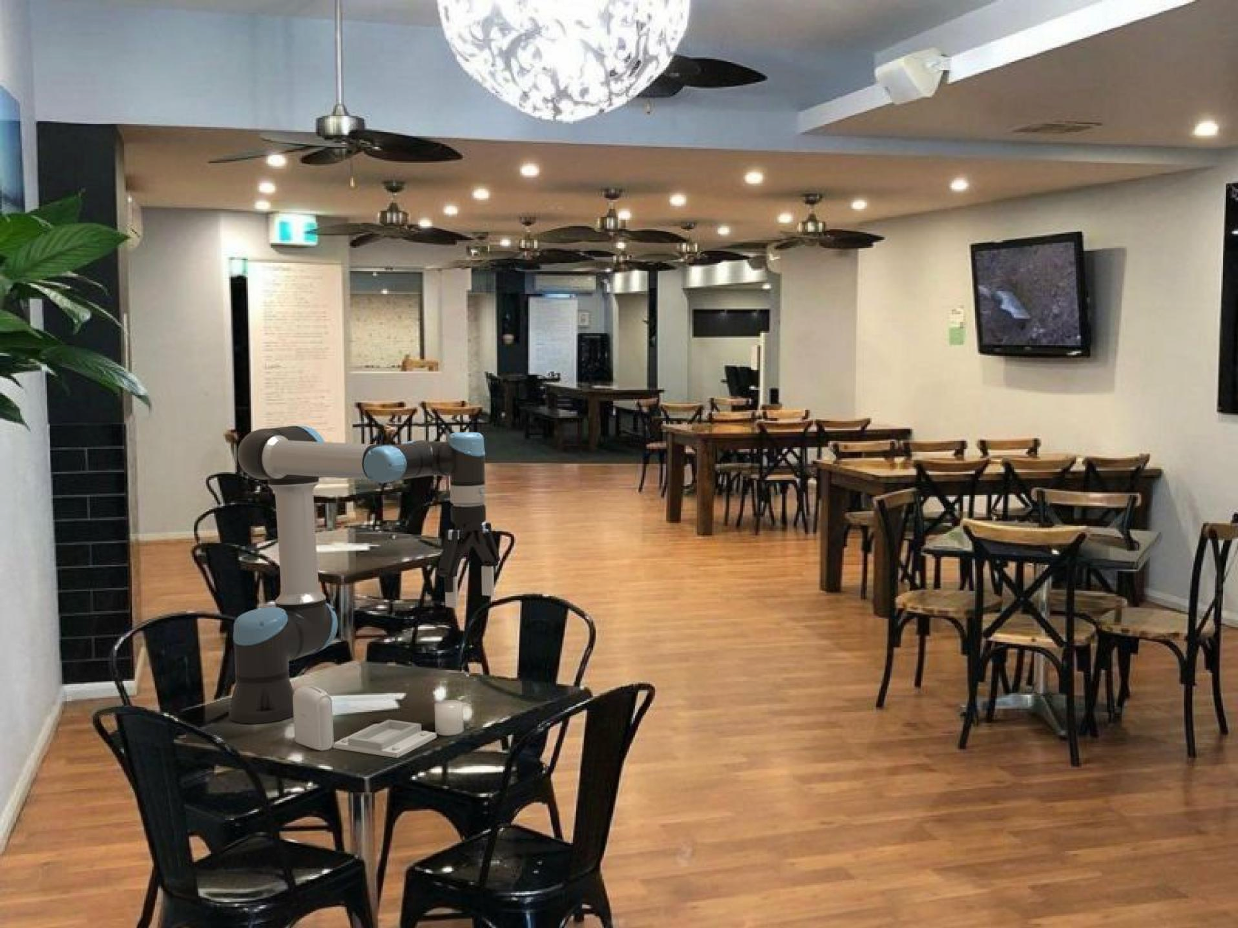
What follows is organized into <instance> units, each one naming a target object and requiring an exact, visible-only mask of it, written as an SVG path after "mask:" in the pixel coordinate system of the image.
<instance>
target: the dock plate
mask: <svg viewBox="0 0 1238 928" xmlns="http://www.w3.org/2000/svg"><path fill="white" fill-rule="evenodd" d="M436 738H437V733H436V732H432V731H428V730H422V724H421V723H418V722H411V721H410V722H409V721H402V720H396V719H395V720H394V719H386V720H384V721H382V722H380V723H373V724H371V725H370V726H367V727H365V728H363V729H361V730H358V731H357V732H354V733H352V734H351V735H347V736H346V737H342V738H341V739H340V740H337V741H335V742H334V743H333V746H332V748H333V749H337V750H345V751H349V752H350V751H351V752H355V753H356V752H357V753H363V754H369V755H375V756H382V757H390V758H399V757H402V756H404V755H406V754H408V753H409V752H412V751H413V750H416V749H418V748H419V747H421V746H424V745H425V744H427V743H429V742H431V741H432V740H435V739H436Z"/></svg>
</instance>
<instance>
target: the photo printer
mask: <svg viewBox="0 0 1238 928" xmlns="http://www.w3.org/2000/svg"><path fill="white" fill-rule="evenodd" d="M293 713H294V716H293V727H294V729H293V730H294V731H293V732H294V740H295V743H297V744H300V745H301V746H305V747H308V748H310V749H313V750H316V751H317V750H318V751H320V752H321V751H328V750H330V749H332V748H333V743H335V742H334V741H335V740H334V739H335V738H334V723H333V721H334V720H333V716H334V715H333V700H332V697H331V696H330V695H329V693H328V692H326V691H324V690H323V689H321V688H320V687H317V686H314V685H304V686H300V687H298V688H296V689H295V690H294V694H293Z"/></svg>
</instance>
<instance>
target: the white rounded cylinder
mask: <svg viewBox="0 0 1238 928" xmlns="http://www.w3.org/2000/svg"><path fill="white" fill-rule="evenodd" d="M434 726H435V727H434V728H435V731H434V733H436V735H440V736H454V735H460V734H461V733H463V732H464V703H463V701H462V700H459V699H458V700H457V699H446V700H440V701H437V702H435V703H434Z"/></svg>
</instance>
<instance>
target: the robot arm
mask: <svg viewBox="0 0 1238 928" xmlns="http://www.w3.org/2000/svg"><path fill="white" fill-rule="evenodd" d="M484 439H485V438H484V435H482V434H481V433H480V432H472V431H471V432H465V431H464V432H452V433H450V435H449V436H448V441H437V440H436V441H435V440H434V441H433V440H423V439H420V440H410V441H406V442H405V443H403V444H399V443H398V444H380V443H379V444H371V443H353V442H352V443H350V442H347V443H346V442H330V441H325V440H324V437H323V436H322V435H321V434H319V433H318V431H317V430H315V429H313V428H312V427H310V426H306V425H289V426H288V425H287V426H280V427H270V428H267V427H265V428H259V429H256V430H253V431H251V432H249V433H248V434H246V435H245V436H244V438H242V440H241V441H240V443H239V445H238V447H237V460H238V463H239V466H240V468H241V469H242V470H243V472H244V473H246V474H247V475H248V476H249V477H250V478H251V477H252V478H254V479H257V480H267V486H268V487H269V488H270V489H271V490H272V491H273V492H274V493H275V494H274V496H275V510H276V511H275V512H276V522H277V523H276V525H277V526H276V527H277V528H276V529H277V543H278V544H277V546H278V561H279V572H280V594H279V595H278V596H277V598H276V599H275V600H274V601H275V604H274V605H275V606H274V607H273V606H270V607H268V606H267V607H262V608H261V607H260V608H257V609H253V610H249V611H247V612H244V613H242V614H240V615H239V616H238V617H236V619H235V621H234V623H233V635H232V639H233V651H234V652H233V653H234V670H235V672H234V673H235V685H234V688H233V693H232V697H231V700H230V704H229V706H228V718H229V720H230V721H233V722H236V723H240V724H267V723H273V722H279V721H284V720H286V719H289V718H292V717H294V713H293V694H294V692H295V690H294V689H293V686H292V683H291V681H290V680H291V679H290V667H289V666H290V665H289V664H290V663H289V661H293V660H296V659H298V658H302V657H305V656H308V655H314V654H316V653H318V652H320V651H322V650H324V649H326V648H327V647H328V646H329V645H331V643H332V642H333V641H334V640H335V638H336V636H337V635H336V634H337V632H338V626H339V625H338V617H337V614H336V611H335V610H333V607H332V605H330V604H329V603H327V596H326V594H324V593H323V592H322V591H321V590H320V588H319V587H320V586H319V584H320V583H319V571H318V570H319V569H318V556H317V555H318V554H317V536H316V535H317V534H316V523H315V522H316V519H315V518H316V517H315V503H314V489H315V487H317V485H318V484H320V478H321V477H323V478H324V477H325V478H326V477H327V478H340V479H341V478H342V479H343V478H345V479H356V480H357V479H361V480H363V479H364V480H372V481H373V482H376V483H384V484H385V483H386V484H387V483H393V482H398V481H402V480H407V479H408V480H409V479H415V478H416V479H417V478H421V477H422V478H423V477H427V476H429V477H431V476H436V477H438V476H440V477H441V476H444V477H449V482H450V483H449V489H450V490H449V492H450V493H449V494H450V495H449V499H450V503H451V504H452V505H451V506H450V521H451V522H452V523H453V524H454V526H455V528H454V529H446V530H445V534H444V543H443V547H442V551H441V555H440V558H439V562H438V567H437V571H436V574H437V575H438V576H439V577H443V581H444V582H443V583H444V584H443V585H444V595H445V596H444V597H445V598H444V599H445V600H444V601H445V602H444V603H445V604H444V605H445V608H454V609H455V608H456V609H457V608H459V593H458V592H459V589H458V586H459V585H458V576H456V573H457V571H458V569H459V567H460V566H459V565H460V564H461V562H462V559H463V557H464V555H465V552H467V551H468V549H470V548H472V547H473V548H474V549H475V551H476V554H477V555H478V556H479V559H480V560H481V561H482V563H483V565H482V566H481V596H488V597H494V596H495V581H494V579H495V567H498V566H499V562H500V561H501V557H500V554H499V553H500V552H499V550H498V548H497V544H496V542H495V538H494V535H493V531H492V523H491V522H485V521H486V520H487V514H486V513H487V511H486V509H487V507H486V505H485V504H484V503H485V502H486V481H485V475H486V473H485V471H486V470H485V465H486V464H485V463H486V462H485V459H486V451H485V443H484V442H485V441H484Z"/></svg>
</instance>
